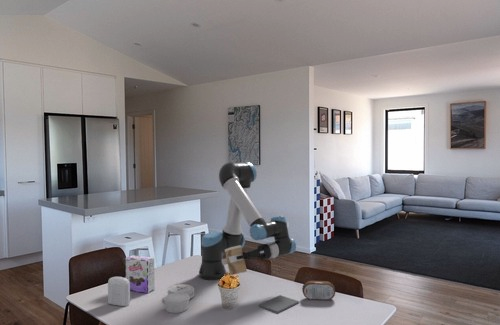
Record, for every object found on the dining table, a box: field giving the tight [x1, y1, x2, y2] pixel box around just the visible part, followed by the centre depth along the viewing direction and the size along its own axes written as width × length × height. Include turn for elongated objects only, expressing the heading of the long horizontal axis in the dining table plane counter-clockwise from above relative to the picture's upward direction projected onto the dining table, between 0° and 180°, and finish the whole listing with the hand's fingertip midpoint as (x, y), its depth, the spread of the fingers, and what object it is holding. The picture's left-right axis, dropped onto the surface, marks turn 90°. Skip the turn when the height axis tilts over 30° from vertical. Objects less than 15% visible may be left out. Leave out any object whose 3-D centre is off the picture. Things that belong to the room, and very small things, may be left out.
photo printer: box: [107, 276, 131, 307], centre depth 167 cm, size 10×4×12 cm, turn 72°
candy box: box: [124, 255, 156, 294], centre depth 184 cm, size 14×6×16 cm, turn 68°
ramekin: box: [163, 293, 191, 314], centre depth 161 cm, size 11×11×5 cm
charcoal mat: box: [258, 294, 300, 314], centre depth 165 cm, size 11×15×1 cm
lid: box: [166, 283, 195, 299], centre depth 175 cm, size 13×13×5 cm
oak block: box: [224, 245, 248, 276], centre depth 171 cm, size 8×5×12 cm, turn 29°
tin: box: [302, 280, 336, 301], centre depth 170 cm, size 15×3×8 cm, turn 84°
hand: (226, 260), depth 169 cm, fingers closed on oak block, 8 cm apart
